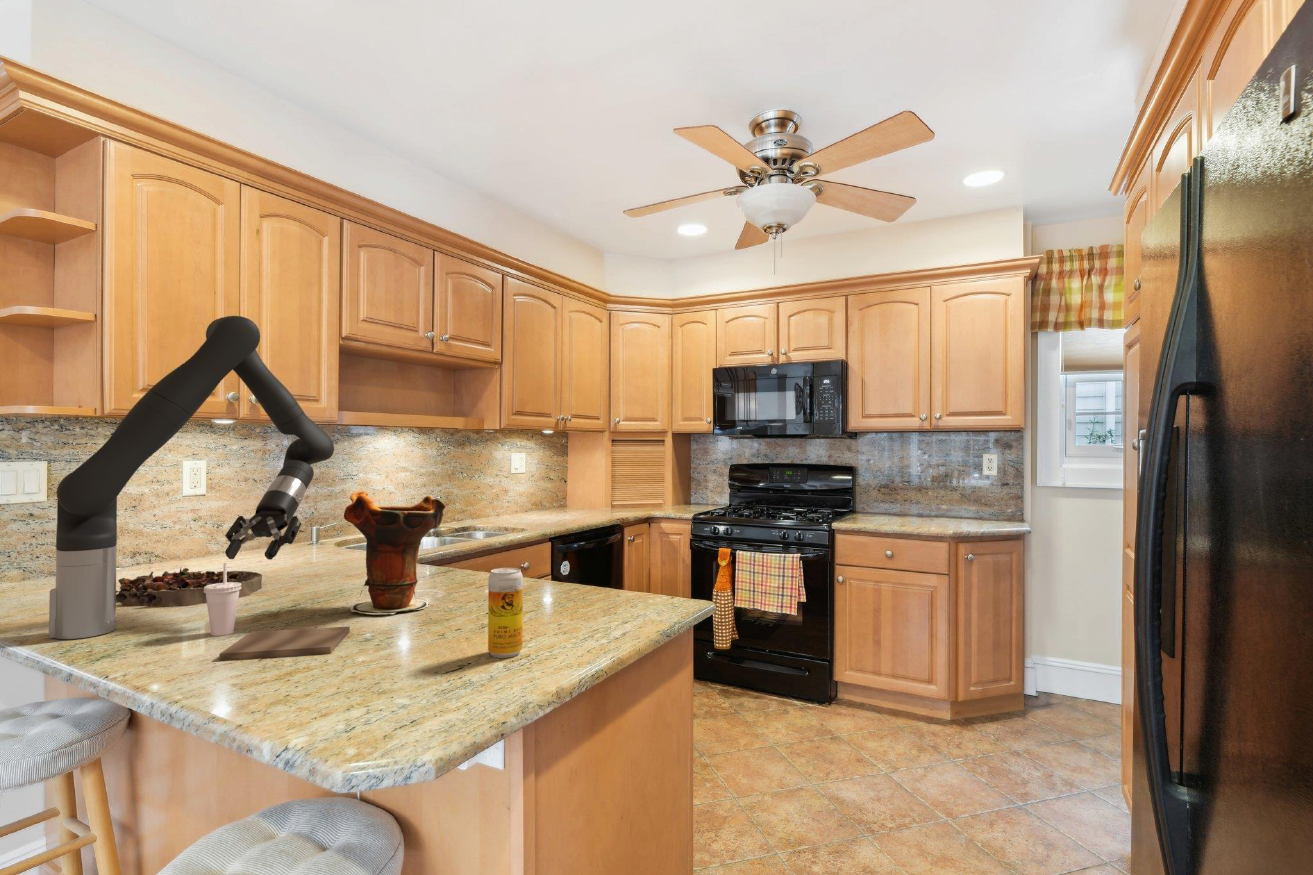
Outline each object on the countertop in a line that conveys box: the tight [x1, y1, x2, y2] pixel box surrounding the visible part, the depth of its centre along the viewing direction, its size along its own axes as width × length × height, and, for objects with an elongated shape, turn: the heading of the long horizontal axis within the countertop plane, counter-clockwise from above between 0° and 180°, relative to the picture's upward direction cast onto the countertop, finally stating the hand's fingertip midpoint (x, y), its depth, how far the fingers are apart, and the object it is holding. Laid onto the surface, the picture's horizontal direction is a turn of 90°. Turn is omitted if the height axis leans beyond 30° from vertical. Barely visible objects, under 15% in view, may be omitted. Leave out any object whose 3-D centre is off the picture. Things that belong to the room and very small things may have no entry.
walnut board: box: [218, 626, 351, 661], centre depth 123 cm, size 18×14×1 cm
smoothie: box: [204, 562, 241, 637], centre depth 131 cm, size 6×6×14 cm
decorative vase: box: [343, 490, 446, 615], centre depth 153 cm, size 20×22×27 cm
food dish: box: [116, 567, 263, 608], centre depth 169 cm, size 35×33×8 cm
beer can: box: [487, 567, 524, 659], centre depth 118 cm, size 6×6×15 cm
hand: (248, 557), depth 139 cm, fingers open, 8 cm apart
